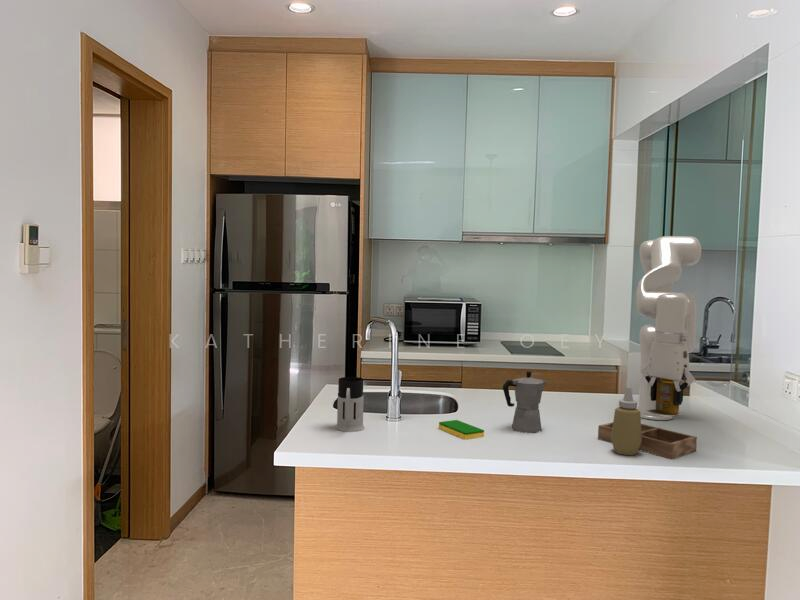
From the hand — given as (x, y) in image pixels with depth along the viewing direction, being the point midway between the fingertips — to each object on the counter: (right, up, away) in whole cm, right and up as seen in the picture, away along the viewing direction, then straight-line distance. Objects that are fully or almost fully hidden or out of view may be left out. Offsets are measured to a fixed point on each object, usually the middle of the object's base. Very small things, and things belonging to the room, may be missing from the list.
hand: (666, 401), depth 181 cm
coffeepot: (-36, -12, +19) cm, 43 cm away
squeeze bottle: (-12, -14, -3) cm, 19 cm away
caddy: (-4, -13, +5) cm, 15 cm away
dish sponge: (-56, -12, +14) cm, 59 cm away
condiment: (0, -3, 0) cm, 3 cm away
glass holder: (-90, -11, +13) cm, 91 cm away
